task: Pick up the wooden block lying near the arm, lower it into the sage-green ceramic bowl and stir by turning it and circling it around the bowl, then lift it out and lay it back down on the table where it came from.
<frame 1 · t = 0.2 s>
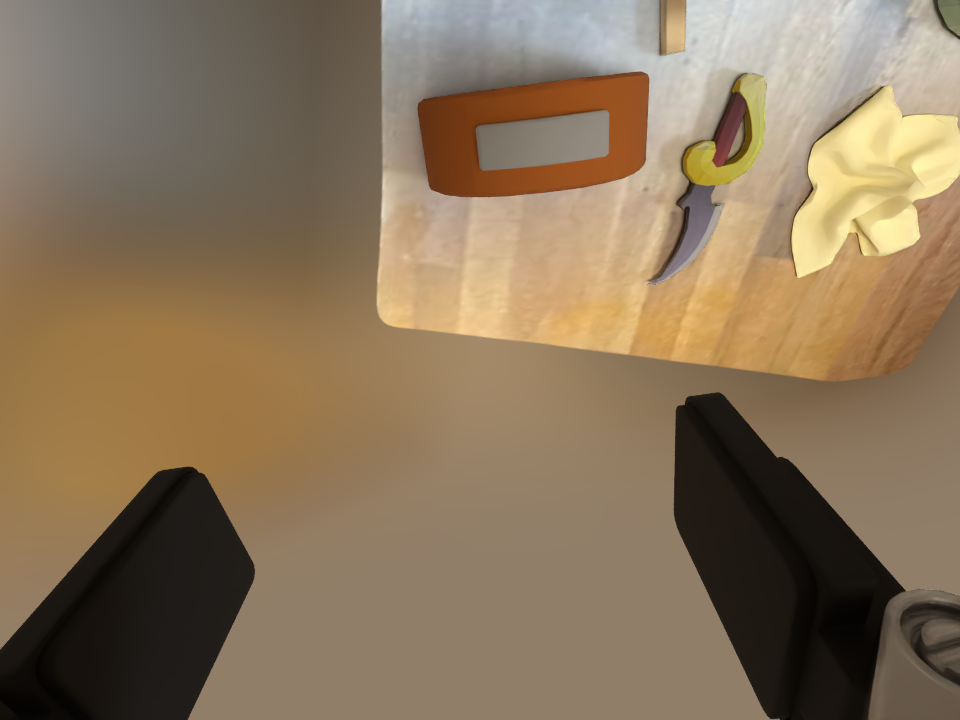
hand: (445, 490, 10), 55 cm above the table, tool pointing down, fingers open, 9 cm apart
cloth: (865, 195, 60), on the table
alarm clock: (528, 130, 57), on the table
knife: (700, 189, 60), on the table
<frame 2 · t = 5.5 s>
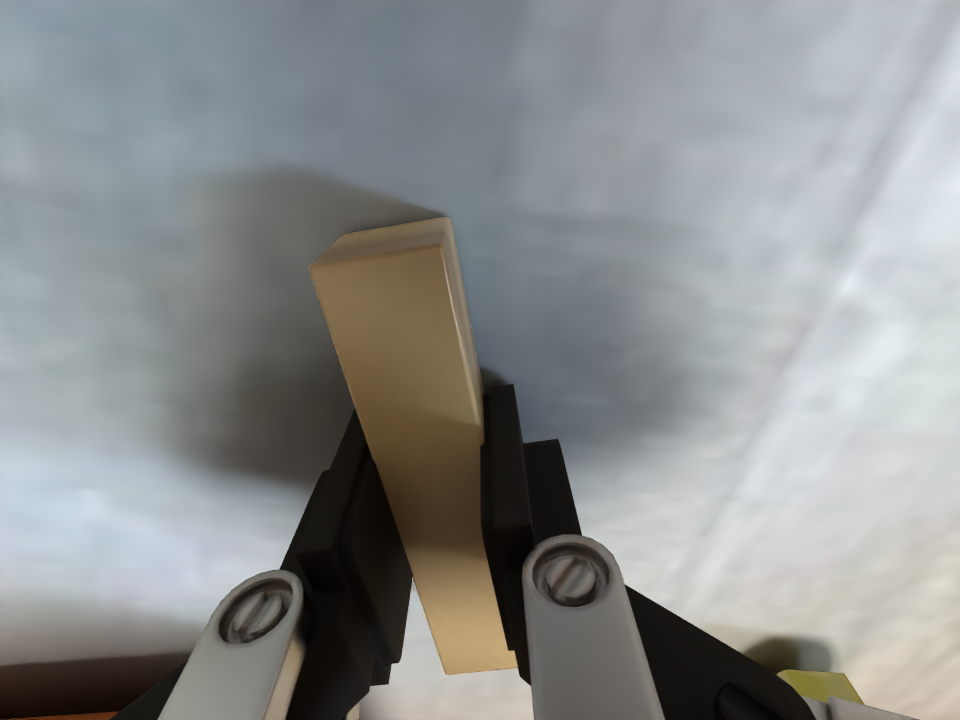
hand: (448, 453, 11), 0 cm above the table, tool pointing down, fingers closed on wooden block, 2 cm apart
wooden block: (449, 449, 11), on the table, touching gripper
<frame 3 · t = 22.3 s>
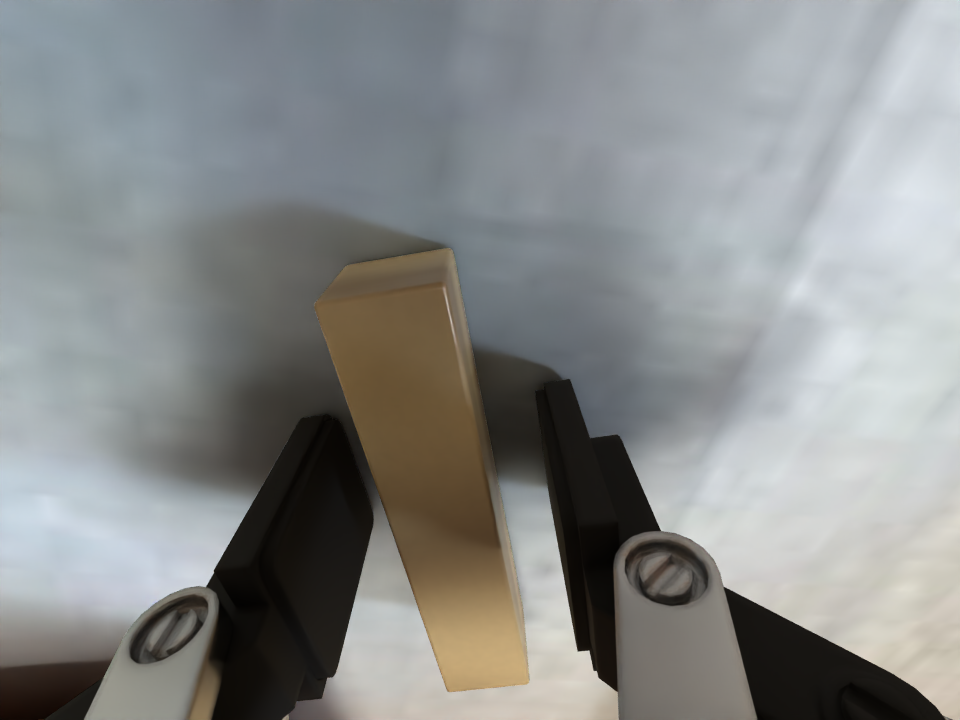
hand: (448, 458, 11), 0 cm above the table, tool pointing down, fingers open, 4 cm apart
wooden block: (451, 470, 11), on the table
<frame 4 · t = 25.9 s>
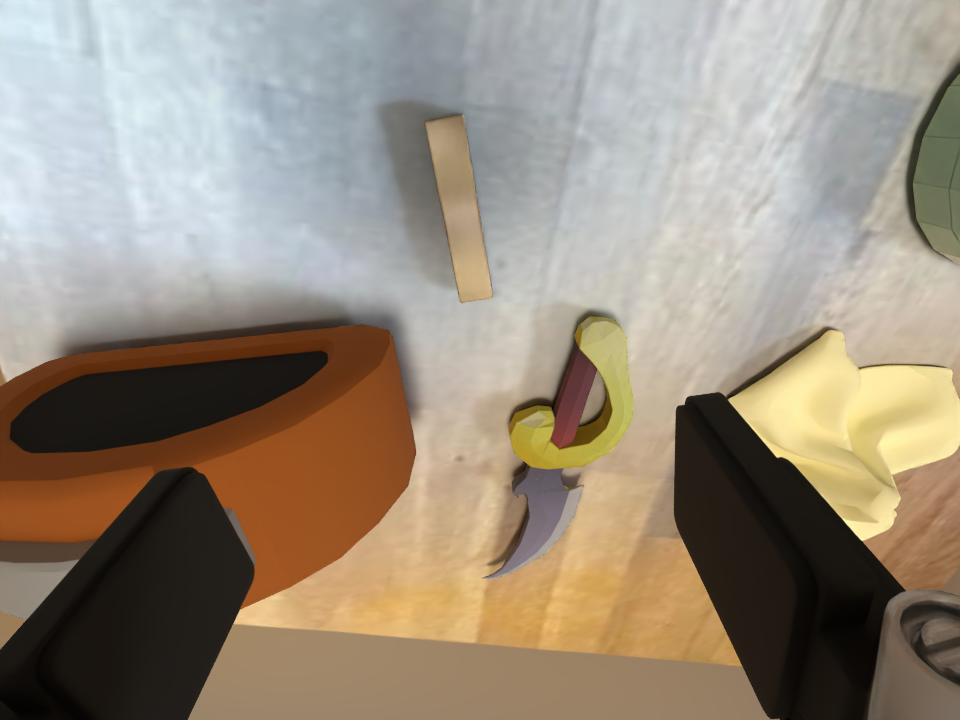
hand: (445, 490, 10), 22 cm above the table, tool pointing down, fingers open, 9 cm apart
cloth: (808, 464, 38), on the table
wooden block: (462, 210, 29), on the table
alarm clock: (251, 385, 35), on the table
knife: (547, 458, 38), on the table
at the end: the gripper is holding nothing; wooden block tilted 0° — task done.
